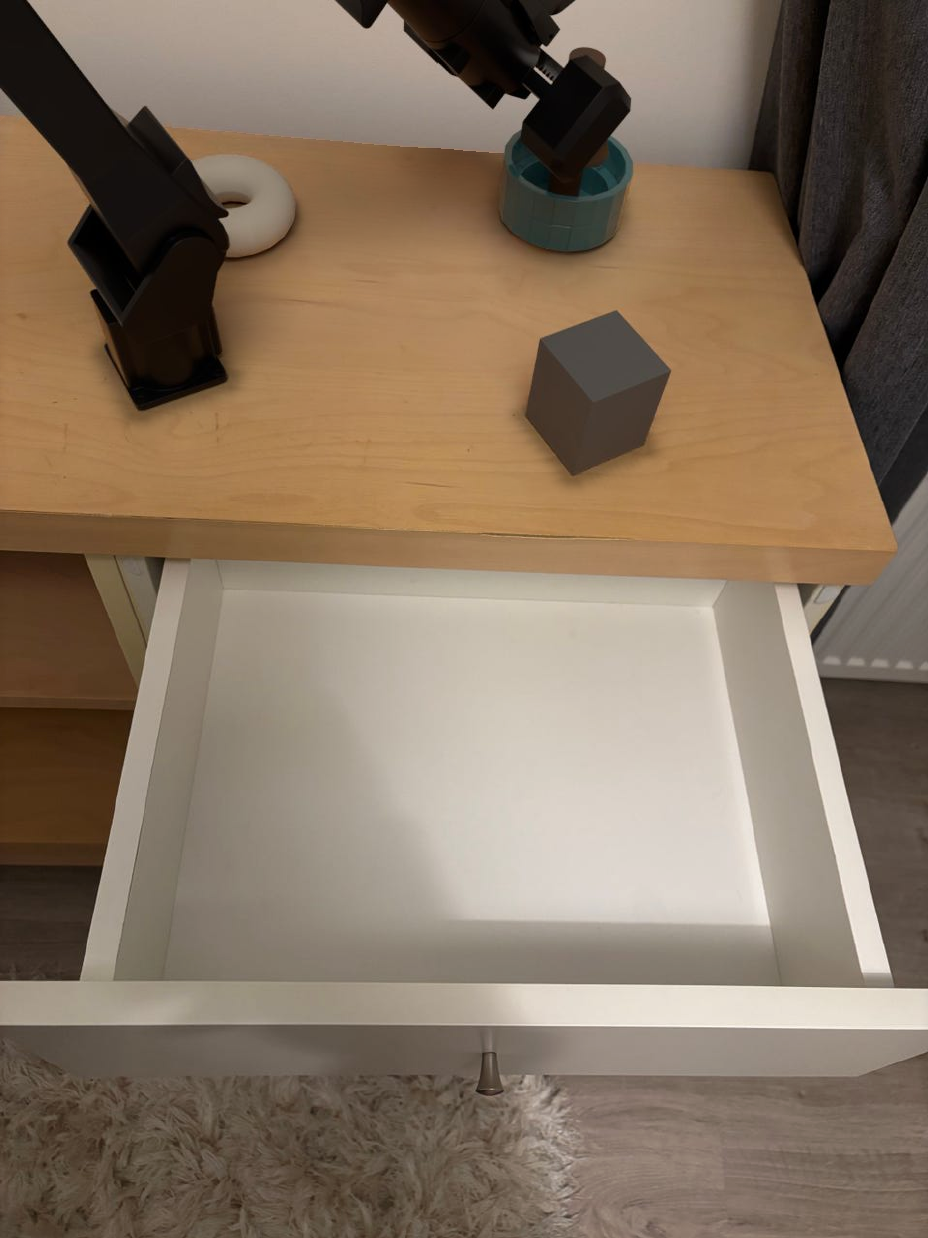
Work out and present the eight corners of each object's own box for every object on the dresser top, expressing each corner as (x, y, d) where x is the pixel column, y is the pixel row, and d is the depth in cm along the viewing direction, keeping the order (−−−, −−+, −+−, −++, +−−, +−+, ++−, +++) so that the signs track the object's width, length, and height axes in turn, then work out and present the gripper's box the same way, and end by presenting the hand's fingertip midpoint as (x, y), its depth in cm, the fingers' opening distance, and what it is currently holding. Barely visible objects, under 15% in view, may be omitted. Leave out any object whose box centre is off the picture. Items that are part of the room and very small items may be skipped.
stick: (570, 223, 73) (601, 70, 62) (539, 215, 73) (565, 61, 62) (578, 204, 74) (610, 52, 63) (548, 196, 74) (574, 42, 64)
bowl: (540, 271, 70) (550, 215, 66) (474, 197, 74) (480, 138, 70) (642, 236, 73) (658, 179, 69) (574, 166, 77) (585, 108, 73)
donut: (240, 169, 74) (139, 219, 70) (235, 128, 71) (129, 178, 67) (324, 229, 71) (223, 285, 67) (322, 189, 68) (217, 245, 64)
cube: (572, 476, 60) (593, 402, 54) (524, 415, 63) (539, 338, 57) (644, 445, 62) (672, 370, 56) (595, 387, 65) (616, 309, 59)
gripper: (647, -66, 47) (731, 95, 60) (451, -208, 54) (565, -37, 67) (504, 122, 51) (612, 233, 64) (340, -34, 58) (468, 95, 71)
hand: (565, 125), depth 67 cm, fingers open, 9 cm apart
